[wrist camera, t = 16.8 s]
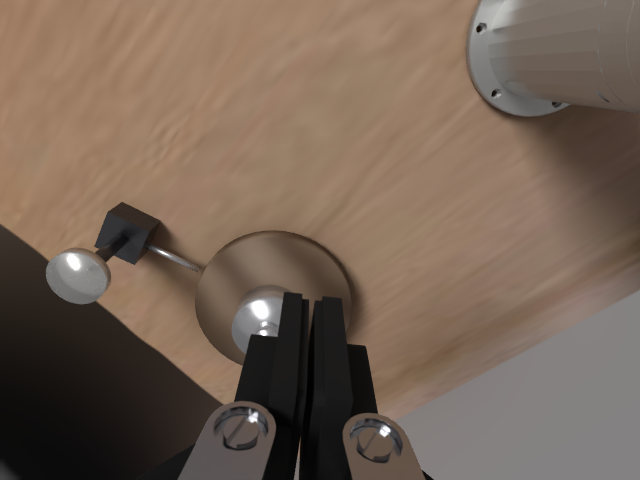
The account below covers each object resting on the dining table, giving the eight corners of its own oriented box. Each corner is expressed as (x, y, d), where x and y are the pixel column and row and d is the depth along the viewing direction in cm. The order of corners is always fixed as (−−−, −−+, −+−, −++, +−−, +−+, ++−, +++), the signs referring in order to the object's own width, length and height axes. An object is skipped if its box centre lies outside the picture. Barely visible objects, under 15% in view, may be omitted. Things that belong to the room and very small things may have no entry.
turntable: (274, 198, 39) (267, 219, 34) (382, 303, 44) (391, 337, 38) (168, 297, 43) (147, 330, 38) (277, 384, 48) (273, 424, 43)
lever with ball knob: (106, 235, 42) (39, 288, 32) (120, 199, 40) (55, 243, 30) (195, 277, 44) (159, 339, 34) (212, 244, 42) (179, 299, 32)
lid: (268, 271, 40) (262, 295, 36) (319, 313, 42) (319, 340, 38) (223, 315, 42) (213, 342, 38) (274, 353, 44) (269, 383, 40)
